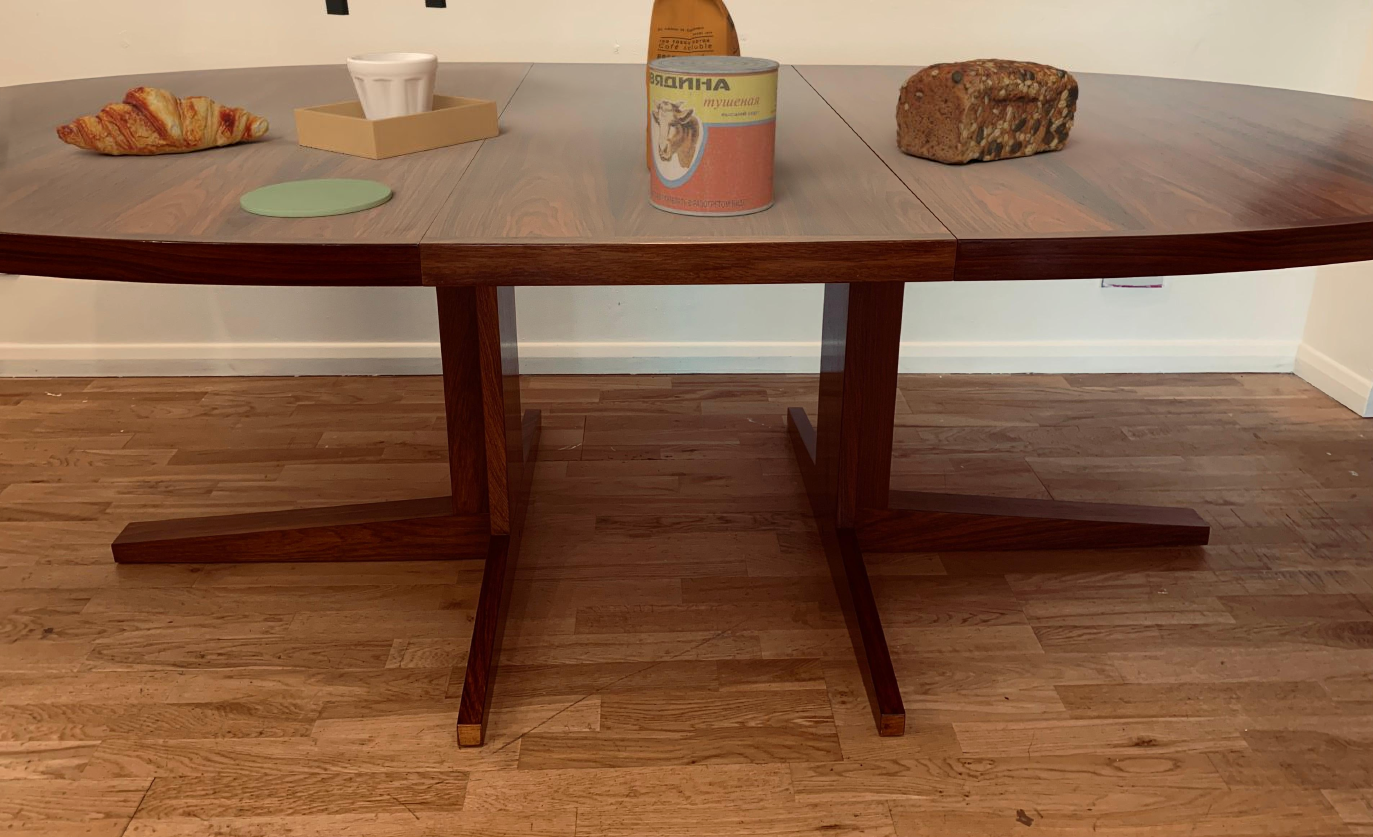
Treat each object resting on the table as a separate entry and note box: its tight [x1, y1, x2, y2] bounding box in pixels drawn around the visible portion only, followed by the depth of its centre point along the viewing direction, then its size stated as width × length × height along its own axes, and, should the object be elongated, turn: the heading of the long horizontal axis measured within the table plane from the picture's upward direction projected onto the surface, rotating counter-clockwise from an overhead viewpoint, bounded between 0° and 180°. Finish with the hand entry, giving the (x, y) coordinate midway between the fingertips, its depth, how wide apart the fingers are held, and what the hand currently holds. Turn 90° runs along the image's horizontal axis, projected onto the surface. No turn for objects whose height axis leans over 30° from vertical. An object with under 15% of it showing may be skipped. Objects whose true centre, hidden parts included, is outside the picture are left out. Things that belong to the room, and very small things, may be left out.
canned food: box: [648, 56, 780, 217], centre depth 90 cm, size 11×11×12 cm
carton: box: [293, 93, 500, 161], centre depth 118 cm, size 14×18×4 cm
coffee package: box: [645, 0, 742, 170], centre depth 103 cm, size 10×12×22 cm
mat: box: [239, 178, 393, 218], centre depth 92 cm, size 13×13×1 cm
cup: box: [346, 52, 439, 120], centre depth 116 cm, size 10×10×9 cm
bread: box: [894, 58, 1080, 165], centre depth 112 cm, size 19×11×10 cm, turn 123°
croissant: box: [55, 86, 270, 156], centre depth 112 cm, size 21×10×8 cm, turn 120°
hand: (389, 11), depth 112 cm, fingers open, 13 cm apart
